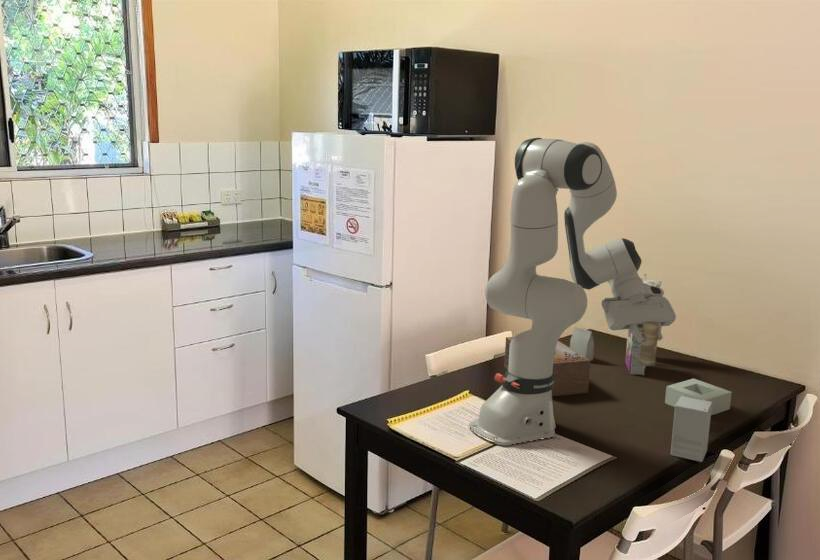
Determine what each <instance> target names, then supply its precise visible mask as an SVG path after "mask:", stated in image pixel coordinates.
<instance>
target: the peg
mask: <svg viewBox="0 0 820 560" xmlns="http://www.w3.org/2000/svg"><path fill="white" fill-rule="evenodd" d="M658 330H659V324H657V323H653V322H647V323H643V330H642V334H644V335H645V337H646V341H644V342H641V350H640V360H639V363H640V364H642V365H645V366H646V367H653V366H655V365H656V362H655V361H656V358H657V357H656V356H657V349H658V341H657V339H658Z"/></svg>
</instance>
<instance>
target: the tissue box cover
mask: <svg viewBox="0 0 820 560" xmlns="http://www.w3.org/2000/svg"><path fill="white" fill-rule="evenodd" d="M514 337H515V336H506V337H505V350H504V363H503V364H504V366H503V367H504V369H506V370H507V369H508V366H509V348H510V343H511V341H512V339H513V338H514ZM590 369H591V361H590V360H589V359H587V358H586V357H584V356H583V355H581V354H579V353H578V352H576V351H574V350H573V349H571V348H570V346H567V345H566V344H564V343H563V342H561V341H560V340H558V342H557V344H556V348H555V354H554V362H553V373H554V387H553V389H552V397H559V396H568V395H570V396H571V395H579V394H580V395H581V394H588V393H589V382H590V381H589V380H590Z"/></svg>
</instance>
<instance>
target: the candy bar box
mask: <svg viewBox="0 0 820 560" xmlns="http://www.w3.org/2000/svg"><path fill="white" fill-rule="evenodd" d="M637 329H638V330H639V332H640V333H641V334H642V330H643V328H637ZM640 350H641V342H638V340H637V338H636V337H635V336H634V335H633V334H631V333H630V331H629V329H627V337H626V351H625V363H624V364H625V366H626V369H627V371H628V373H629V375H632V376H645V375H646V367H647V366H645V365H642V364H640V363H639V360H640Z"/></svg>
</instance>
